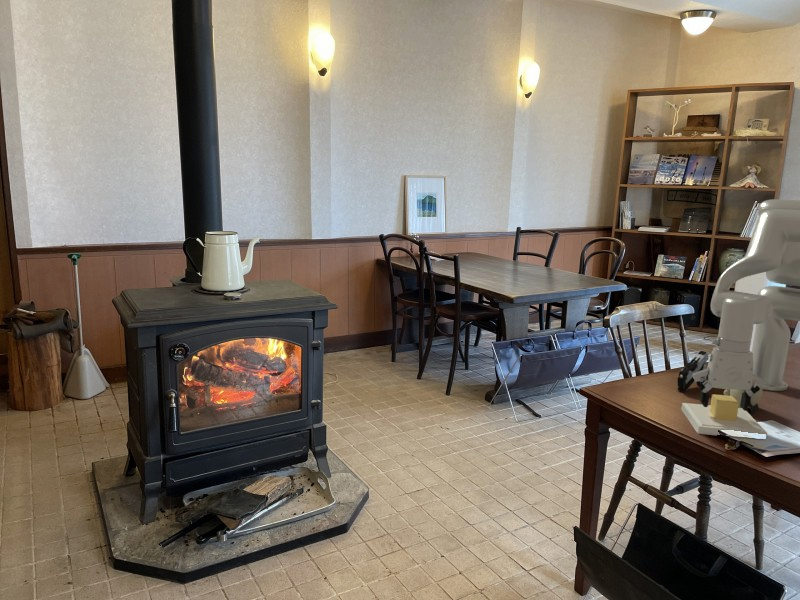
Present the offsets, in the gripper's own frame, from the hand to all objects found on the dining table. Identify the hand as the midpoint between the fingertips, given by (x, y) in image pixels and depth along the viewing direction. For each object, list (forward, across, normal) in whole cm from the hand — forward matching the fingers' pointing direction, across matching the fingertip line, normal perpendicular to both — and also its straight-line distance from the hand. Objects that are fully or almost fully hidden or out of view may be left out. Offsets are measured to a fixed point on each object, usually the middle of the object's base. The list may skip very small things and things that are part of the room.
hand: (723, 407), depth 158 cm
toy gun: (+5, 0, +29) cm, 30 cm away
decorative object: (+5, +9, +13) cm, 17 cm away
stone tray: (+5, 0, 0) cm, 5 cm away
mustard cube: (+3, 0, 0) cm, 3 cm away
